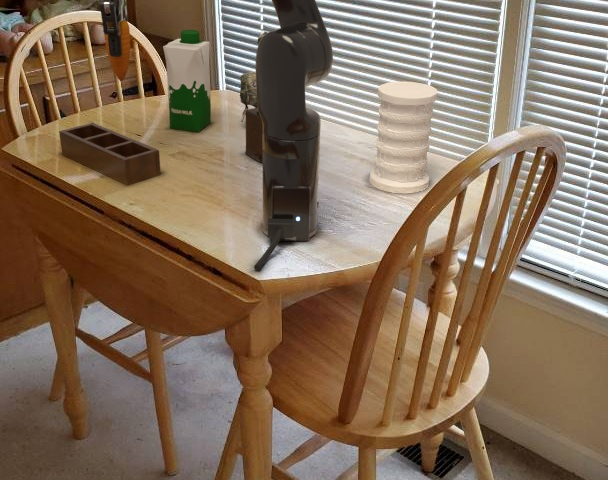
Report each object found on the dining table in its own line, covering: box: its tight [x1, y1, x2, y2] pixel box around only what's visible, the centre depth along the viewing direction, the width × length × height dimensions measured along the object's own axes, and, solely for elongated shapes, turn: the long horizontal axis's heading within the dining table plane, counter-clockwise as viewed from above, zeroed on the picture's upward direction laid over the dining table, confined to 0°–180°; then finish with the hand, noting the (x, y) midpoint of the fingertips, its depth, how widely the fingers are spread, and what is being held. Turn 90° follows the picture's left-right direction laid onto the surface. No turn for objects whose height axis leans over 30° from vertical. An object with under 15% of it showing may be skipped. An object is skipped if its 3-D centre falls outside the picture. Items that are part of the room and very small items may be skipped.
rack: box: [58, 122, 162, 186], centre depth 160 cm, size 8×22×5 cm, turn 47°
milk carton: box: [162, 29, 212, 133], centre depth 177 cm, size 9×9×20 cm
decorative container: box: [369, 81, 438, 194], centre depth 153 cm, size 12×12×18 cm
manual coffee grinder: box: [244, 107, 263, 164], centre depth 161 cm, size 16×11×18 cm
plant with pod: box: [239, 31, 269, 123], centre depth 179 cm, size 8×11×20 cm
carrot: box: [103, 0, 131, 82], centre depth 151 cm, size 5×5×15 cm
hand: (118, 52), depth 152 cm, fingers closed on carrot, 5 cm apart
